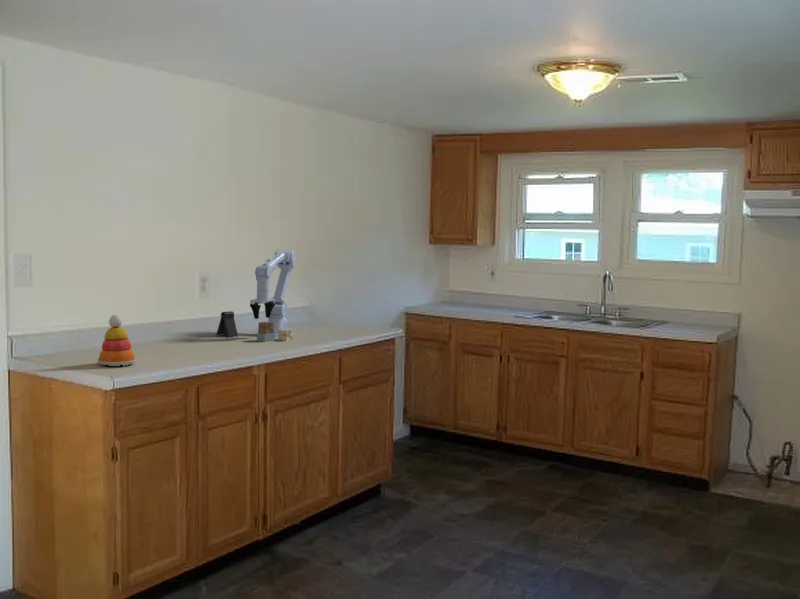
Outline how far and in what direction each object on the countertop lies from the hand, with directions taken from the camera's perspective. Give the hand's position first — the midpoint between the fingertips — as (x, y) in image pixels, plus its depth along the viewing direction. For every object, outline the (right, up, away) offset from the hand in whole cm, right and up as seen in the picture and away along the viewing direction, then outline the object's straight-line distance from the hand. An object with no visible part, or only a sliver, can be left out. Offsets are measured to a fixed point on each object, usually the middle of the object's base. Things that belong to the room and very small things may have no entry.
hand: (262, 318), depth 392 cm
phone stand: (-18, -9, +4) cm, 21 cm away
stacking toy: (-42, -16, -81) cm, 93 cm away
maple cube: (+11, -11, -2) cm, 16 cm away
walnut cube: (+3, -7, -7) cm, 10 cm away
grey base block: (+3, -11, -6) cm, 13 cm away
